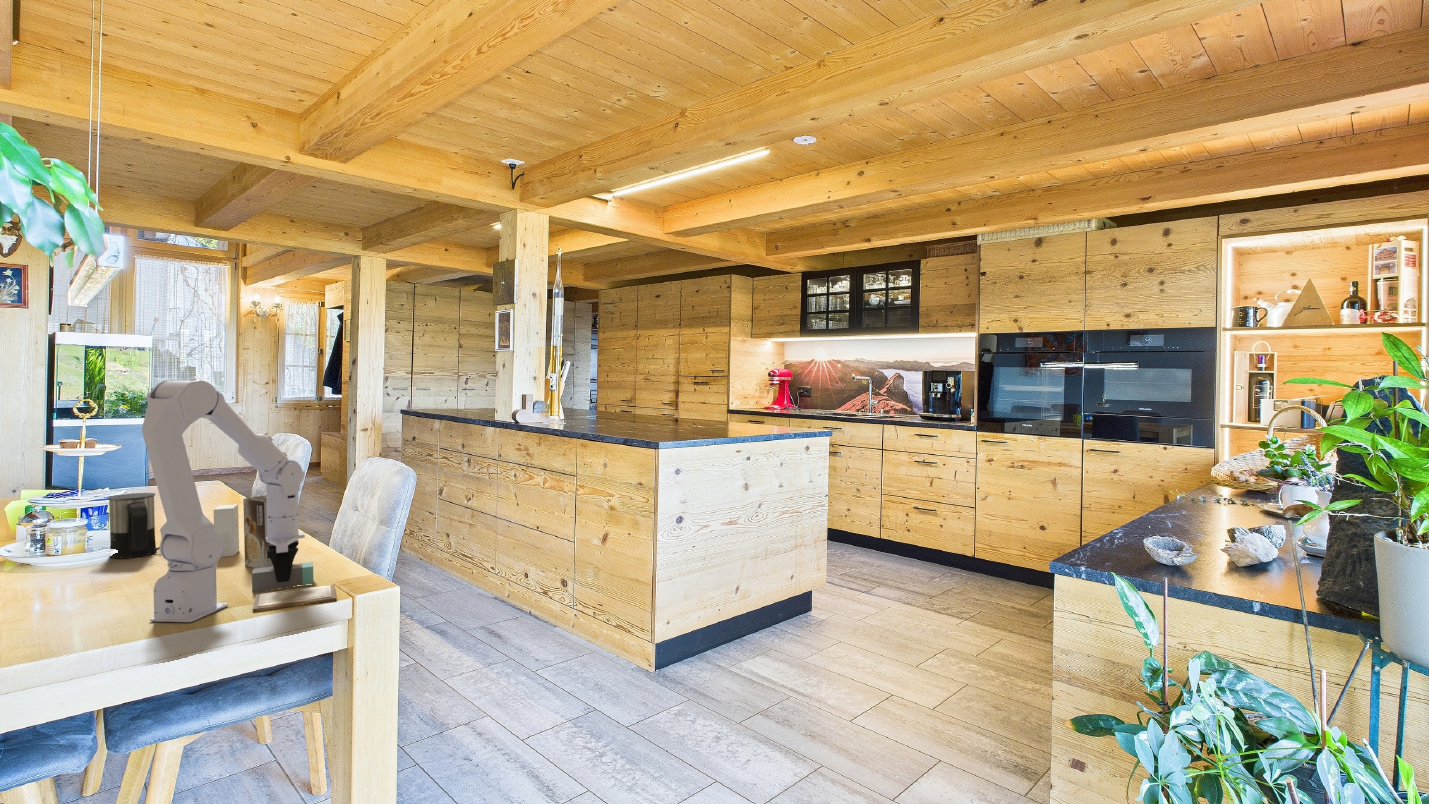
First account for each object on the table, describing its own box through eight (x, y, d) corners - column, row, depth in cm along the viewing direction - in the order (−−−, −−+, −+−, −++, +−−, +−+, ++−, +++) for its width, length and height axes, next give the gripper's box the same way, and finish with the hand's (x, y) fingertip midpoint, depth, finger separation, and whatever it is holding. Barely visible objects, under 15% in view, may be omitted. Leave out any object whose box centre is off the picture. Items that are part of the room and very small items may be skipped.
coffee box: (293, 564, 165) (292, 497, 164) (265, 571, 159) (264, 501, 158) (270, 559, 169) (269, 494, 168) (242, 565, 163) (241, 498, 163)
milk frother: (100, 556, 170) (98, 496, 169) (171, 542, 185) (170, 487, 184) (134, 563, 164) (133, 501, 164) (205, 548, 179) (204, 491, 178)
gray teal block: (252, 592, 144) (251, 573, 144) (253, 587, 147) (253, 568, 147) (313, 584, 149) (313, 566, 149) (313, 579, 153) (313, 562, 153)
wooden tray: (252, 612, 132) (252, 607, 132) (255, 597, 141) (255, 593, 141) (336, 600, 139) (336, 596, 139) (334, 587, 148) (334, 583, 148)
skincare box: (219, 551, 175) (218, 504, 175) (239, 550, 177) (238, 503, 177) (213, 557, 170) (212, 509, 169) (234, 556, 172) (233, 508, 171)
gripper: (304, 520, 144) (305, 584, 144) (304, 508, 156) (305, 567, 157) (263, 523, 140) (264, 589, 140) (267, 510, 152) (268, 571, 153)
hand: (283, 578), depth 148 cm, fingers closed on gray teal block, 4 cm apart
